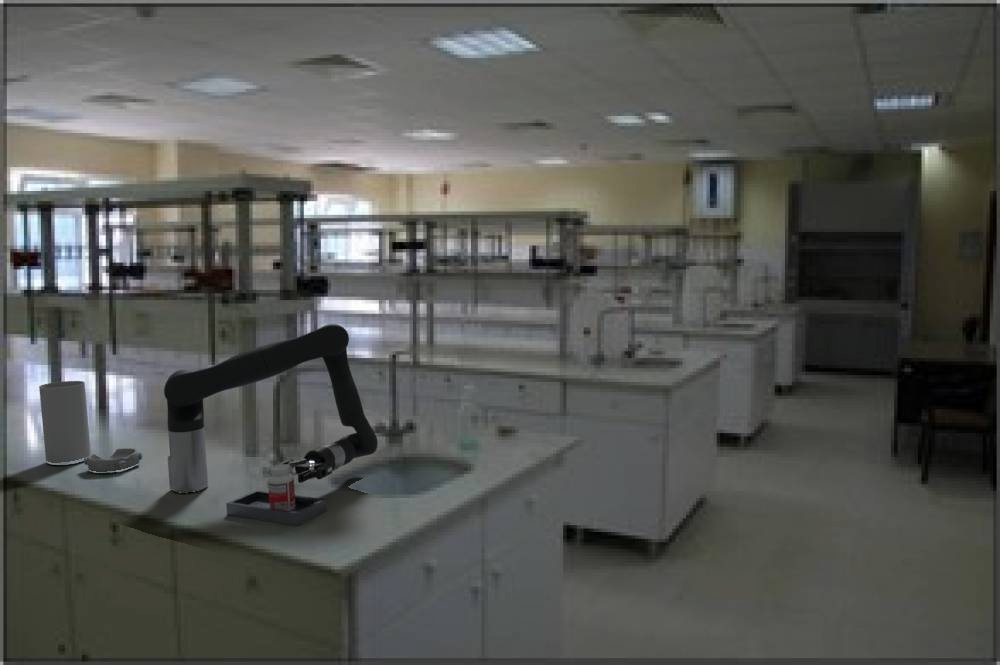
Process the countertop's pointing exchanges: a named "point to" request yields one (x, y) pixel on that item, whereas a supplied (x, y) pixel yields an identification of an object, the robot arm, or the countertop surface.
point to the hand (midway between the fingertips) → (285, 477)
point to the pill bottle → (281, 488)
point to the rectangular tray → (259, 509)
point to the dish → (114, 460)
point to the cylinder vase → (65, 421)
